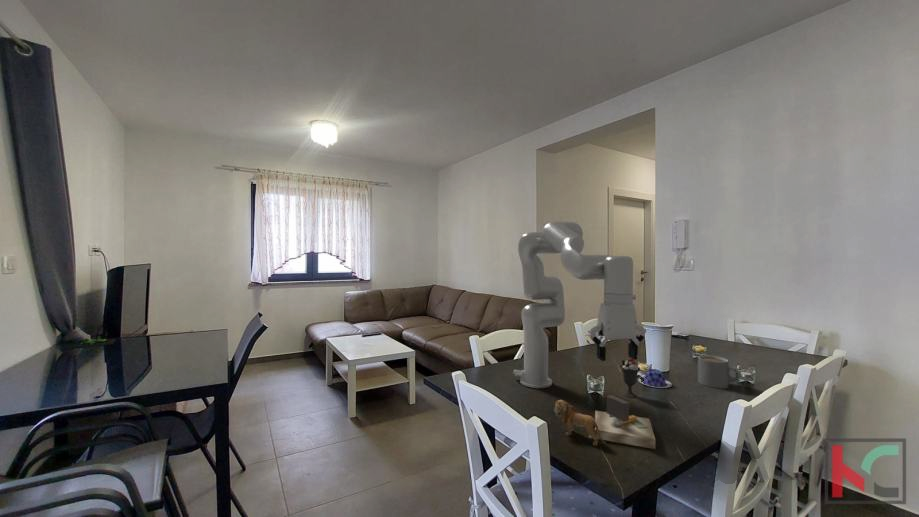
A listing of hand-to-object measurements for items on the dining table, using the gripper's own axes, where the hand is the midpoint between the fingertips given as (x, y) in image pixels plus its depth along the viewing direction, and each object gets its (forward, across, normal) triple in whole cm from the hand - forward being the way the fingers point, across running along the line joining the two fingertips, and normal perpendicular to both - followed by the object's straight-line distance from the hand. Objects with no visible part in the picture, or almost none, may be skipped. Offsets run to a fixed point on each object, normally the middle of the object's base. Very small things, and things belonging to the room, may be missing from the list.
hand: (617, 358), depth 103 cm
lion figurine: (+22, +12, 0) cm, 25 cm away
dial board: (+22, -2, 0) cm, 22 cm away
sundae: (+22, -21, -25) cm, 39 cm away
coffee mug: (+22, -62, -29) cm, 72 cm away
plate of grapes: (+22, -38, -35) cm, 56 cm away
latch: (+19, -3, 0) cm, 19 cm away
